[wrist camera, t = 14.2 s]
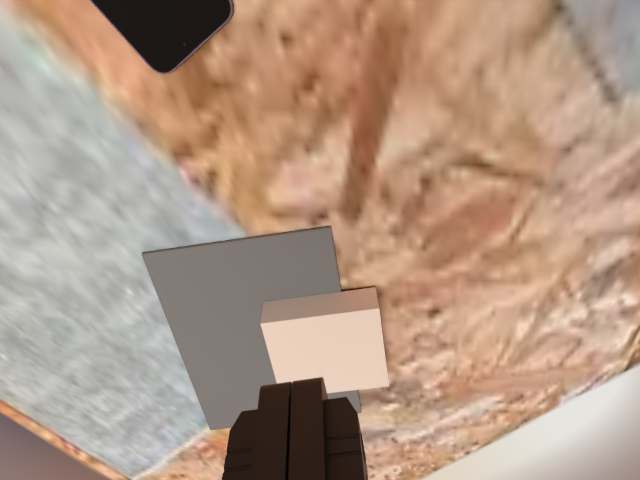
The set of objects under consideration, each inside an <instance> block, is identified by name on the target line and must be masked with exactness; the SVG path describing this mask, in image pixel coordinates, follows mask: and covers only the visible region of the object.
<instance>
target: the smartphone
mask: <svg viewBox="0 0 640 480" xmlns="http://www.w3.org/2000/svg"><path fill="white" fill-rule="evenodd" d="M90 1H91V2H92V3H93V4H94V6H95V7H96V8H97V9H98V10H99V11H100V12H101V13H102V14H103V15H104V17H105V18H106V19H107V20H108V21H109V22H110V23H111V24H112V25H113V27H114V28H115V29H116V30H117V31H118V32H119V33H120V34H121V35H122V37H123V38H124V39H125V40H126V41H127V42H128V43H129V44H130V45H131V47H132V48H133V49H134V50H135V51H136V52H137V53H138V54H139V55H140V57H141V58H142V59H143V60H144V61H145V62H146V63H147V64H148V65H149V66H150V67H151V68H152V69H153V70H154V71H156V72H157V73H160V74H168V73H170V72H172V71H174V70H175V69H177V68H178V67H179V66H180V65H181V64H182V63H183V62H184V61H186V60H187V59H188V58H189V57H190V56H191V55H192V54H193V53H194V52H195V51H197V50H198V49H199V48H200V47H201V46H202V45H203V44H204V43H205V42H206V41H207V40H209V39H210V38H211V37H212V36H213V35H214V34H215V33H216V32H217V31H218V30H220V29H221V28H222V27H223V26H224V25H225V24H226V23H227V22H228V21H229V20H230V19H231V17H232V15H233V12H234V5H233V1H232V0H90Z"/></svg>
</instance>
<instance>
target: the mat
mask: <svg viewBox="0 0 640 480" xmlns="http://www.w3.org/2000/svg"><path fill="white" fill-rule="evenodd" d="M142 256H143V259H144V262H145V264H146V267H147V269H148V272H149V274H150V277H151V279H152V282H153V285H154V287H155V290H156V292H157V295H158V297H159V300H160V302H161V305H162V308H163V310H164V313H165V315H166V318H167V320H168V323H169V325H170V328H171V331H172V333H173V336H174V338H175V341H176V343H177V346H178V349H179V351H180V354H181V356H182V359H183V361H184V364H185V366H186V369H187V372H188V374H189V377H190V379H191V382H192V384H193V387H194V389H195V392H196V395H197V397H198V400H199V402H200V405H201V407H202V410H203V412H204V415H205V418H206V420H207V423H208V425H209V428H210V430H216V429H224V428H232V426H233V425H234V423H235V421H236V420H237V418H238V416H239V415H240V413H241V411H248V410H255V409H258V401H259V392H260V387H261V386H263V385H270V384H277V382H276V379H275V375H274V371H273V368H272V364H271V360H270V357H269V353H268V350H267V346H266V342H265V339H264V335H263V331H262V328H261V324H260V323H261V316H262V309H263V302H267V301H275V300H282V299H290V298H298V297H305V296H313V295H320V294H328V293H335V292H341V286H340V280H339V274H338V268H337V262H336V256H335V250H334V244H333V238H332V232H331V226H326V227H319V228H312V229H305V230H298V231H291V232H284V233H277V234H270V235H263V236H255V237H248V238H241V239H234V240H227V241H220V242H213V243H206V244H199V245H192V246H185V247H178V248H171V249H164V250H157V251H150V252H143V253H142ZM327 396H328V399H333V398H341V397H347V398H348V400H349V401H350V403H351V404H352V406H353V407H354V409H355V410H356V412H357V413H361V407H360V401H359V395H358V390H352V391H343V392H335V393H327Z"/></svg>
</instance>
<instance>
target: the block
mask: <svg viewBox="0 0 640 480" xmlns="http://www.w3.org/2000/svg"><path fill="white" fill-rule="evenodd" d="M260 324H261V328H262V331H263V335H264V339H265V342H266V346H267V350H268V353H269V357H270V360H271V364H272V368H273V371H274V375H275V379H276V382H277V383H285V382H293V381H298V380H305V379H312V378H319V377H323V379H324V383H325V387H326V391H327V393H335V392H343V391H352V390H360V389H368V388H377V387H385V386H389V384H388V376H387V367H386V359H385V351H384V343H383V335H382V326H381V318H380V310H379V304H378V298H377V293H376V287H373V288H365V289H358V290H350V291H343V292H335V293H328V294H320V295H313V296H305V297H298V298H290V299H282V300H275V301H267V302H263V309H262V316H261V323H260Z"/></svg>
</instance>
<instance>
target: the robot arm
mask: <svg viewBox="0 0 640 480" xmlns="http://www.w3.org/2000/svg"><path fill="white" fill-rule="evenodd" d="M222 480H368V474H367V465H366V457H365V451H364V445H363V440H362V435H361V430H360V425H359V419H358V414H357V412H356V410H355V409H354V407H353V406H352V404H351V403H350V401H349V400H348V398H347V397H341V398H333V399H328V396H327V391H326V387H325V383H324V379H323V377H319V378H312V379H305V380H298V381H293V382H285V383H277V384H270V385H263V386H261V387H260V392H259V401H258V409H255V410H248V411H241V413H240V415H239V416H238V418H237V420H236V421H235V423H234V425H233V426H232V428H231V430H230V434H229V440H228V446H227V455H226V458H225V464H224V473H223V477H222Z"/></svg>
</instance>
